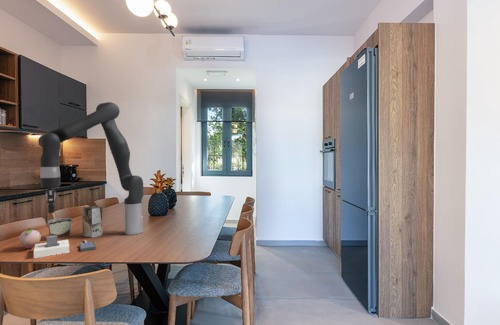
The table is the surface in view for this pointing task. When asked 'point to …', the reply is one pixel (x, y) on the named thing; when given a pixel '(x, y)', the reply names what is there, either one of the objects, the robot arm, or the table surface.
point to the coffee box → (92, 221)
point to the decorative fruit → (29, 238)
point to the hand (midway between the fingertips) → (51, 211)
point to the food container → (60, 227)
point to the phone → (87, 246)
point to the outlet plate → (51, 249)
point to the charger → (51, 241)
